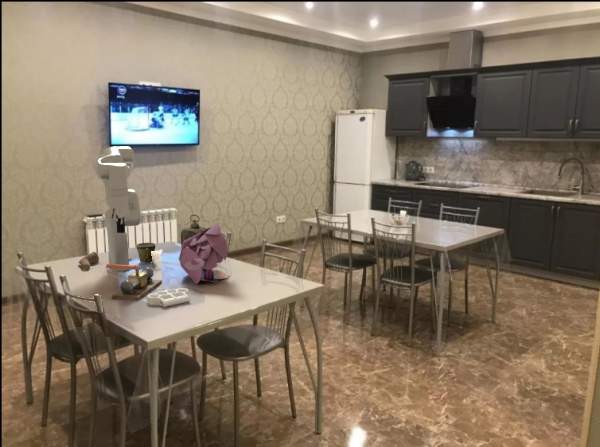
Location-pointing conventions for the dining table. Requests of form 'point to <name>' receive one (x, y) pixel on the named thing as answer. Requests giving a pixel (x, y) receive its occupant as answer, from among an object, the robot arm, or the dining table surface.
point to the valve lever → (123, 266)
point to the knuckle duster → (169, 297)
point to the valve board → (138, 291)
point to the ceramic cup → (145, 252)
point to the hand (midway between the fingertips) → (121, 232)
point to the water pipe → (136, 281)
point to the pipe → (89, 260)
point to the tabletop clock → (191, 230)
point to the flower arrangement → (204, 255)
